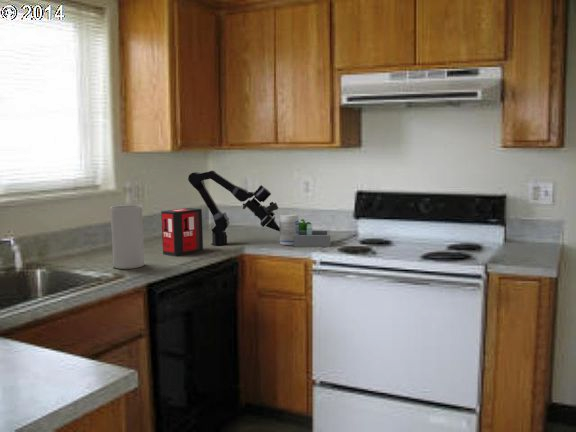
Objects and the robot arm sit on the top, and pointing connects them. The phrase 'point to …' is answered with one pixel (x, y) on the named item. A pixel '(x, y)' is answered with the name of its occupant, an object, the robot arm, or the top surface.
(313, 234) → the grey tray
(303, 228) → the bell pepper
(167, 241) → the cleaning product box
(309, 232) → the plate
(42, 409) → the top surface
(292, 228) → the supplement tub
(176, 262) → the top surface
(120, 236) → the cylinder vase
